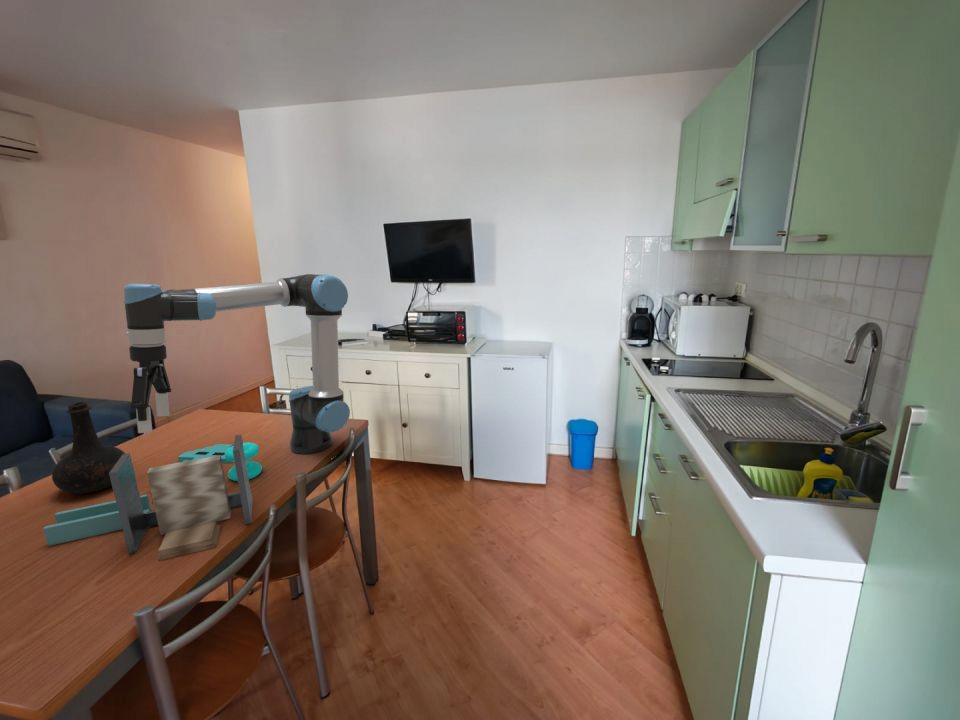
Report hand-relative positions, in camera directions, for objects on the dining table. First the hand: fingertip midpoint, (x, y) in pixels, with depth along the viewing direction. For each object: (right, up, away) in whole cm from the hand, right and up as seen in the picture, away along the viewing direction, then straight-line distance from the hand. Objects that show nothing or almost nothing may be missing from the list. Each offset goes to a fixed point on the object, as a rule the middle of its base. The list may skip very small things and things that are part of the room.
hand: (154, 423), depth 114 cm
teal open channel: (-16, -28, +3) cm, 33 cm away
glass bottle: (-37, -24, +24) cm, 50 cm away
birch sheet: (+9, -28, +4) cm, 29 cm away
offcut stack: (+13, -30, -4) cm, 33 cm away
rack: (+9, -28, +3) cm, 30 cm away
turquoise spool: (+8, -22, +29) cm, 37 cm away
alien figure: (-11, -20, +40) cm, 46 cm away
